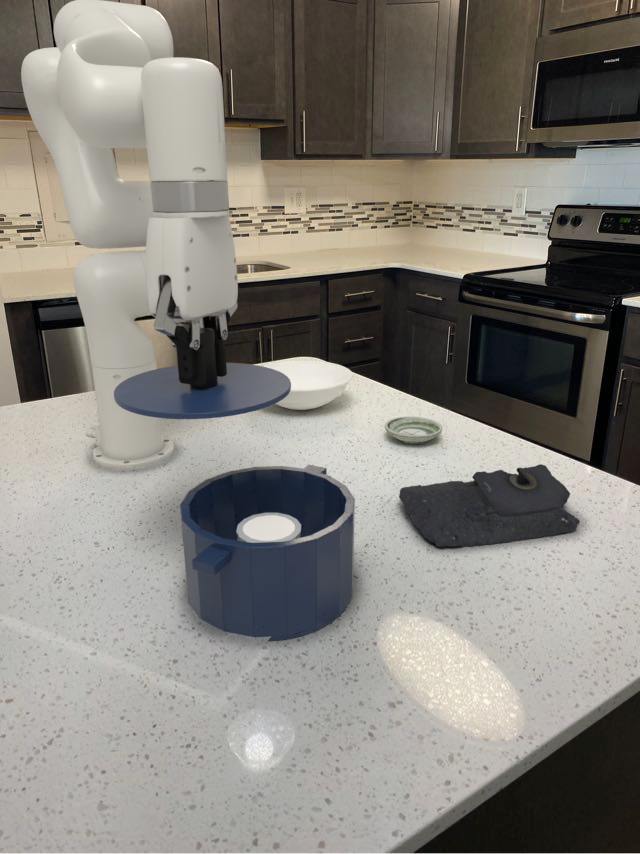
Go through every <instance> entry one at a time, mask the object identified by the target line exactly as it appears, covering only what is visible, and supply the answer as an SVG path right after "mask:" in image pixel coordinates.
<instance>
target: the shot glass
mask: <svg viewBox="0 0 640 854" xmlns="http://www.w3.org/2000/svg"><path fill="white" fill-rule="evenodd" d="M236 533H237V539H238V541H243V542H250V543H260V542H284V541H288V540H293V539H297V538H300V534H301V524H300V523H299V521H298V520H297V519H296V518H294V517H292V516H290V515H286V514H282V513H261V514H256V515H252V516H250V517H248V518H245V519H244V520H243V521H241V522H240V523H239V524H238V526H237V530H236Z"/></svg>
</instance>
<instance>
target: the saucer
mask: <svg viewBox="0 0 640 854" xmlns="http://www.w3.org/2000/svg"><path fill="white" fill-rule="evenodd" d="M384 430H385V431H386V432H387V433H388V434H390V436H392V437H394V438H395V439H396V440H398V441H400V442H402V443H405V444H410V445H420V444H424V443H426V442H427V441H430V440H433V439H435V438H436V437H437V436H438V435H440V434H441V433H442V431H443V425H442V424H441V423H440V422H438V421H437V420H434V419H431V418H427V417H421V416H412V415H411V416H410V415H409V416H398V417H394V418H392V419H389V420H387V421H386V422H385V423H384Z"/></svg>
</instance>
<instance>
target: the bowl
mask: <svg viewBox="0 0 640 854" xmlns="http://www.w3.org/2000/svg"><path fill="white" fill-rule="evenodd" d="M262 366H263V367H267V368H271V369H274V370H277V371H279V372H281V373H283V374H285V375H286V376H287V377H288V378H289V379H290V382H291V391H290V393H289V394H288V395H287V396H286V397H285V398H284V399H282V400H281V401H279V402H277V403H275V404H274V405H277V406H278V407H282V408H285V409H287V410H288V409H289V410H295V411H296V410H297V411H306V410H313V409H317V408H320V407H322V406H325V405H327V404H329V403H331V402H332V401H334V400H335V399H337V398H338V397H339V396H342V395H343V394H344V393H345V390H346V388H347V385H348V383H350V382H351V381H352V379H353V377H354V375H353V372H352V370H351V369H349V368H348V367H345V366H343V365H341V364H338V363H333V362H327V361H321V360H309V359H308V360H305V359H304V360H284V361H277V362H271V363H266V364H264V365H262Z"/></svg>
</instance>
